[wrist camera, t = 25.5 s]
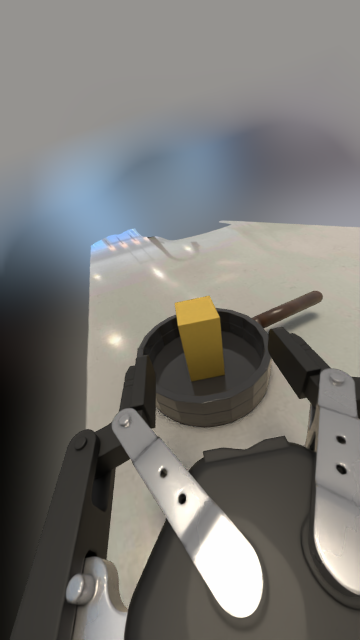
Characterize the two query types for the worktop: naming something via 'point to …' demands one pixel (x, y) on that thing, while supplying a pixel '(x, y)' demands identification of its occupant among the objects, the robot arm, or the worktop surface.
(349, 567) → the robot arm
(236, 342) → the pan
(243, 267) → the worktop surface
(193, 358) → the cheese
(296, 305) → the pan handle
